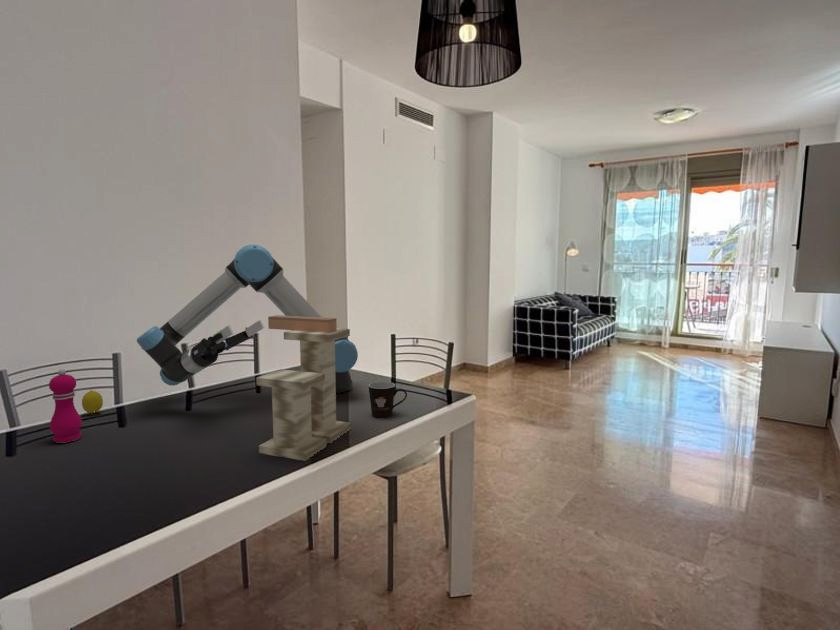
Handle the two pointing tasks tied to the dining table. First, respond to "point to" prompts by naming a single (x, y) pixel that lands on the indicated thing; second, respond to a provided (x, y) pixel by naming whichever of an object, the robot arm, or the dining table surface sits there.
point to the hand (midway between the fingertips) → (247, 326)
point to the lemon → (92, 402)
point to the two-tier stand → (305, 398)
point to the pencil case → (302, 323)
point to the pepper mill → (64, 408)
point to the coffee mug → (383, 398)
